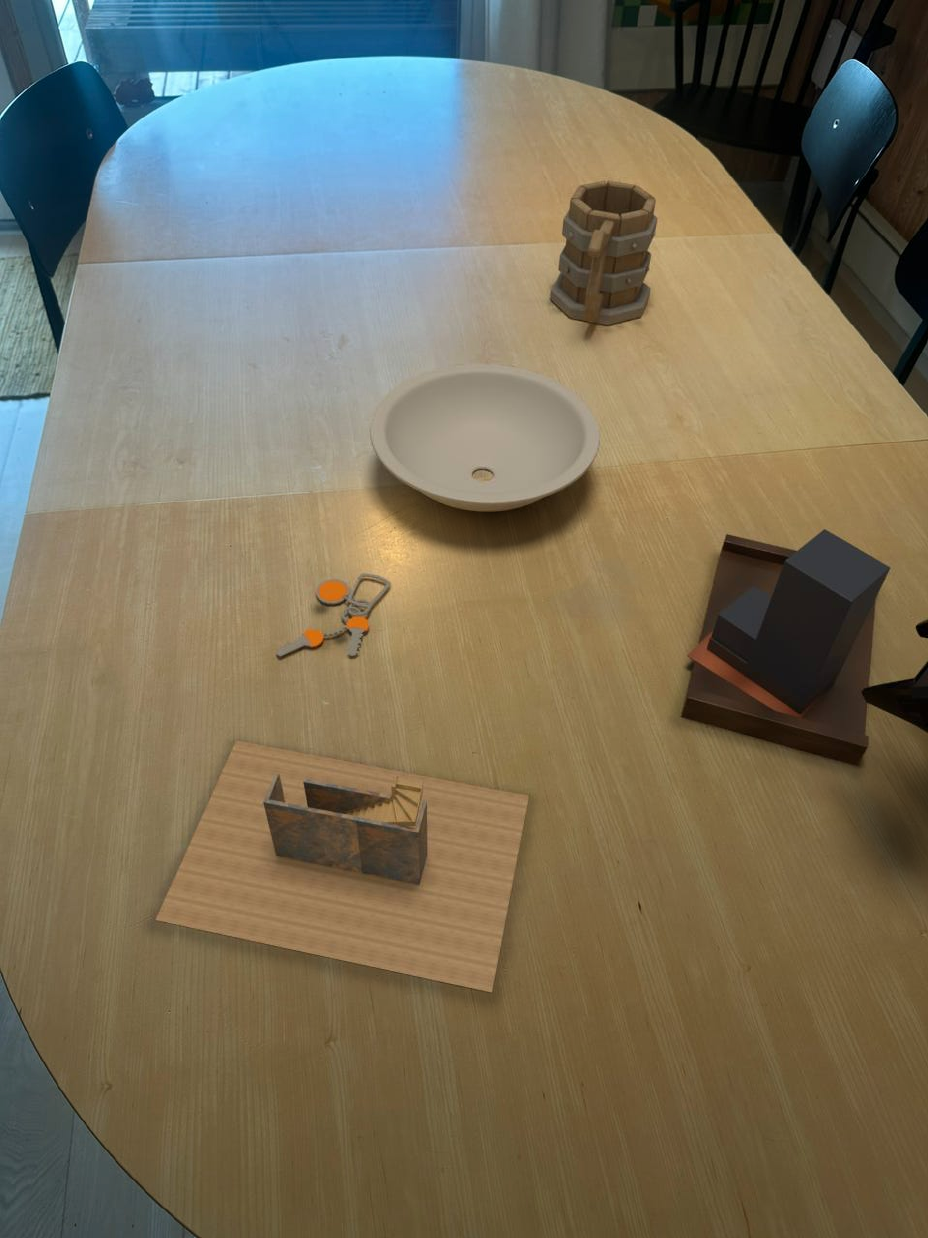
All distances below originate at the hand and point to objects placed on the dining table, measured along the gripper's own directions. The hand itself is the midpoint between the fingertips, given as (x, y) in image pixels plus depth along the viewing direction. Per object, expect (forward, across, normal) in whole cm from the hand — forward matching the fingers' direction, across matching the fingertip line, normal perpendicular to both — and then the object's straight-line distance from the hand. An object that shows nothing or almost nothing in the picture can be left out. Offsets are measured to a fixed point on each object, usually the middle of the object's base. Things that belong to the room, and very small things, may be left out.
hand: (891, 662), depth 76 cm
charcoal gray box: (+12, -1, 0) cm, 13 cm away
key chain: (+37, +21, -22) cm, 48 cm away
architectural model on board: (+23, +37, -9) cm, 45 cm away
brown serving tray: (+14, -5, 0) cm, 15 cm away
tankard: (+49, -40, -34) cm, 72 cm away
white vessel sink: (+40, -4, -26) cm, 48 cm away
